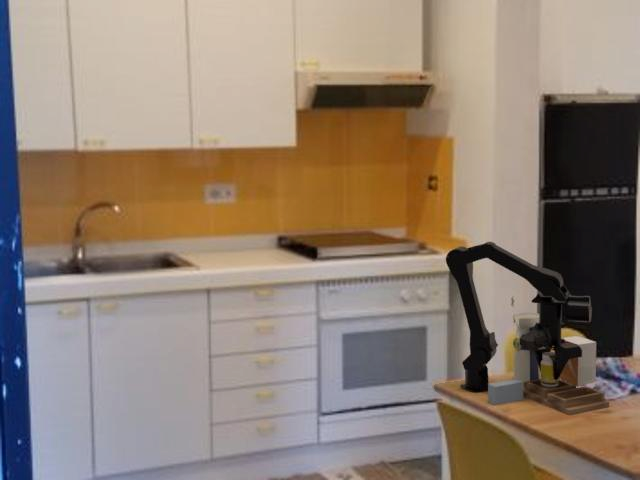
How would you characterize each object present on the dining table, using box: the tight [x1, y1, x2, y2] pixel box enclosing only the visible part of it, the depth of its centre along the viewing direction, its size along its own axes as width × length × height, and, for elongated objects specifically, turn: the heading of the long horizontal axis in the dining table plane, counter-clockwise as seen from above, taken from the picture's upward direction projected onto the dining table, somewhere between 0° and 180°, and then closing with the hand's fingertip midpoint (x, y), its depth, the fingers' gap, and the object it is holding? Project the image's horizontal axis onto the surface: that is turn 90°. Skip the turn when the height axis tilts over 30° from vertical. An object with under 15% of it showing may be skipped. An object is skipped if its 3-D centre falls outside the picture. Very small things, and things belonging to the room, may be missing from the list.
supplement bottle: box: [541, 351, 559, 387], centre depth 237 cm, size 5×5×8 cm
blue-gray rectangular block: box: [487, 379, 524, 406], centre depth 234 cm, size 3×9×5 cm, turn 116°
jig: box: [523, 379, 610, 416], centre depth 233 cm, size 20×13×3 cm, turn 26°
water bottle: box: [510, 295, 541, 387], centre depth 248 cm, size 8×9×25 cm
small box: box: [559, 335, 597, 387], centre depth 245 cm, size 8×6×13 cm
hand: (549, 377), depth 237 cm, fingers closed on supplement bottle, 5 cm apart
